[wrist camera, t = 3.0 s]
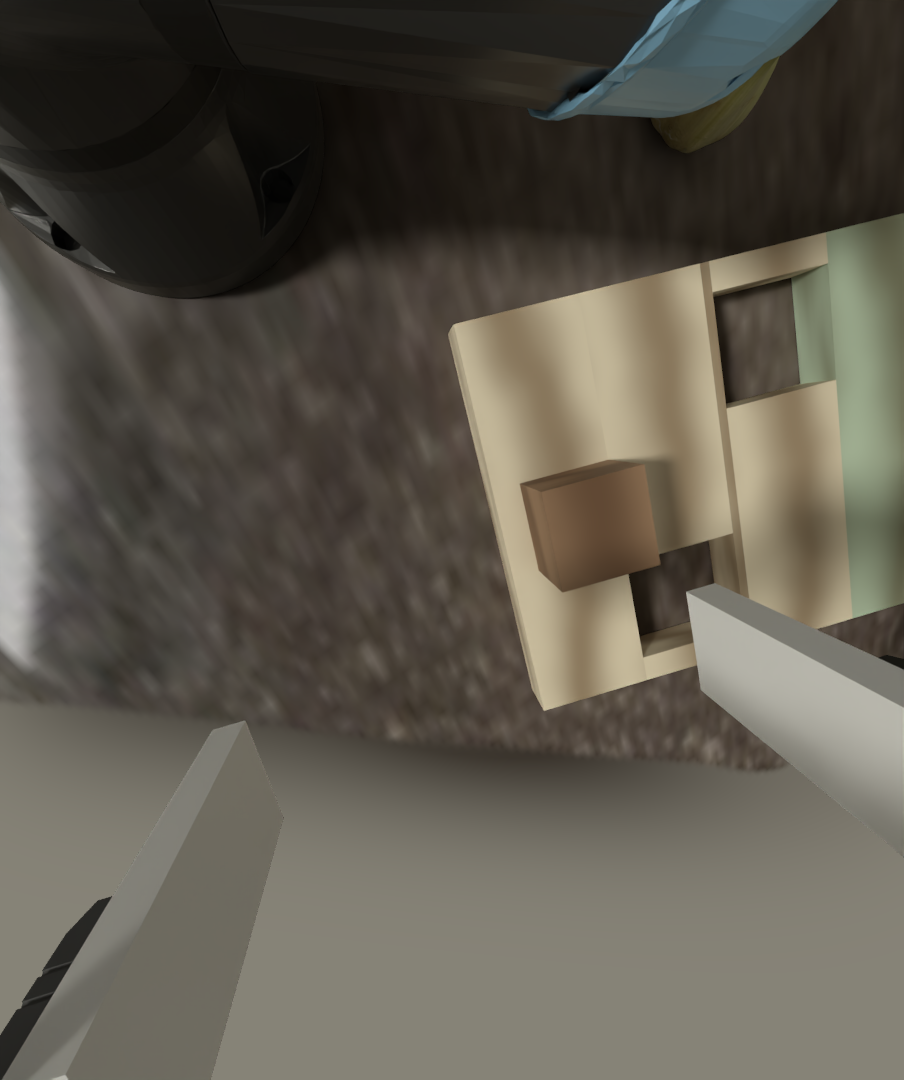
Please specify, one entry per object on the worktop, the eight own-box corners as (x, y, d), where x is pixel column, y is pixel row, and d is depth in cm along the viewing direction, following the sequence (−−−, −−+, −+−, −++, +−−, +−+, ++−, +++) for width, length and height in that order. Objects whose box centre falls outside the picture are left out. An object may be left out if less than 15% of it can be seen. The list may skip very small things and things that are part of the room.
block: (538, 570, 28) (562, 592, 24) (519, 483, 27) (541, 491, 23) (623, 546, 28) (660, 564, 24) (608, 459, 27) (644, 463, 23)
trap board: (532, 689, 32) (557, 735, 27) (447, 334, 27) (460, 312, 22) (928, 572, 34) (1017, 595, 29) (916, 217, 29) (1023, 173, 24)
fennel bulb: (697, 22, 26) (953, -321, 14) (753, 104, 27) (1033, -150, 15) (616, 110, 26) (800, -152, 14) (675, 188, 27) (889, 3, 15)
